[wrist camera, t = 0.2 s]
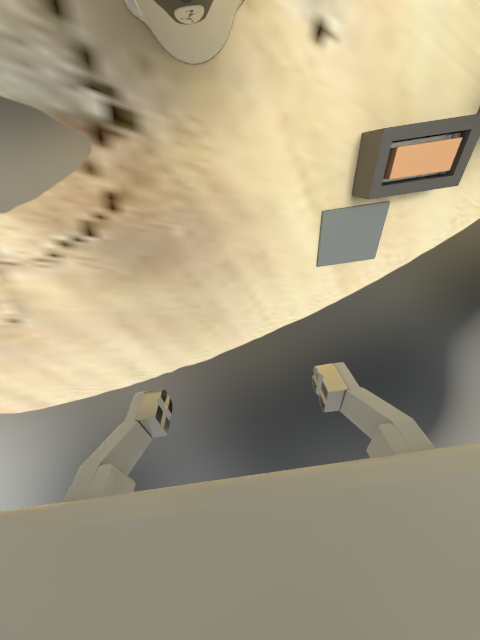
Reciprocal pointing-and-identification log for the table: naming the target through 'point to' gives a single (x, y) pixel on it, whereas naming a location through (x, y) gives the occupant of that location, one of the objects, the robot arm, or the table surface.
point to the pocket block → (379, 141)
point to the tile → (421, 158)
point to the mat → (351, 233)
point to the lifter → (418, 143)
